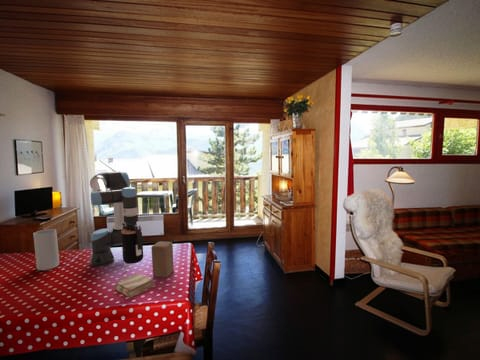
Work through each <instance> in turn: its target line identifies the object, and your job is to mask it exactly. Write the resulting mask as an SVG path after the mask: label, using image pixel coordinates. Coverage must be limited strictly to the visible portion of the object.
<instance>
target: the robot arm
mask: <svg viewBox="0 0 480 360" xmlns="http://www.w3.org/2000/svg"><path fill="white" fill-rule="evenodd" d="M89 181H90V182H89V186H90V188H91V189H92V192H91V193H90V203H91V205H92V206H102V205H110V204H113V205H112V206H113V216H114V217H113V219H114V225H113V226H112V229H109V228H107V227H106V228H100V229H97V230H95V231H93V232H92V233H91V235H90V237H91V238H90V241H91V257H90V260H89V263H90V265H89V266H91V267H103V266H107V265H110V264H112V263H113V262H114V261H115V256H114V254H113V252H112V250H111V249H112V247H115V246H122V233H121V231H122V230H123V229H126V230H131V231H134V230H135V231H136V235H137V237H135V239H136V256H138V255H141V243H144V239H143V238H144V237H143V232H142V230H141V224H140V225H138V224H137V222H138V221H139V210H138V209H139V208H138V207H139V206H138V192H137V188H136V187H133V186H131V180H130V178H129V174H128V172H126V171H119V170H118V171H108V172H107V171H106V172H99V173H97V174H95V175H93V176H92V178H91V179H90V180H89ZM141 232H142V233H141Z"/></svg>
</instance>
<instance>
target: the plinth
mask: <svg viewBox="0 0 480 360" xmlns="http://www.w3.org/2000/svg"><path fill="white" fill-rule="evenodd" d="M153 287H155V280H154V279H152V278H151V277H149V276H146V275H144V274H142V273H139V272H138V273H135V274H133V275H131V276H129V277H127V278H124V279H122V280H120V281H117V282H116V283H115V290H116V291H118V292H120V293H121V294H122V295H125V296H127V297H128V298H133V297H134V296H136V295H137V296H138V295H139V294H140V293H143V292H144V291H147V290H149V289H150V288H153Z"/></svg>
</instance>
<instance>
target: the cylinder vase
mask: <svg viewBox="0 0 480 360" xmlns="http://www.w3.org/2000/svg"><path fill="white" fill-rule="evenodd" d="M32 234H33V235H32V237H33V244H34V252H35V253H34V254H35V261H36V262H35V264H36V270H38V271H41V270H42V271H49V270H52V269H54V268H55V269H56V268H57V267H59V266H60V255H59V247H58V235H57V229H56V228H48V229H47V228H46V229H42V230H38V231H36V232H33V233H32Z"/></svg>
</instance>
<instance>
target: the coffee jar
mask: <svg viewBox="0 0 480 360" xmlns="http://www.w3.org/2000/svg"><path fill="white" fill-rule="evenodd" d="M140 228H141V227H140ZM142 230H143V229H142V228H141V233H142V234H143V231H142ZM121 233H122V245H121V249H122V251H121V252H122V261H123V263H125V264H128V265H129V264H130V265H132V264H137V263H140V262H142V260H143V259H144V248H143V247H144V246H143V243H144V242H143V243H141V255H138V256H136V239H135V237H137V235H136V231H135V230H134V231H131V230H126V229H123V230H122V231H121Z"/></svg>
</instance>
